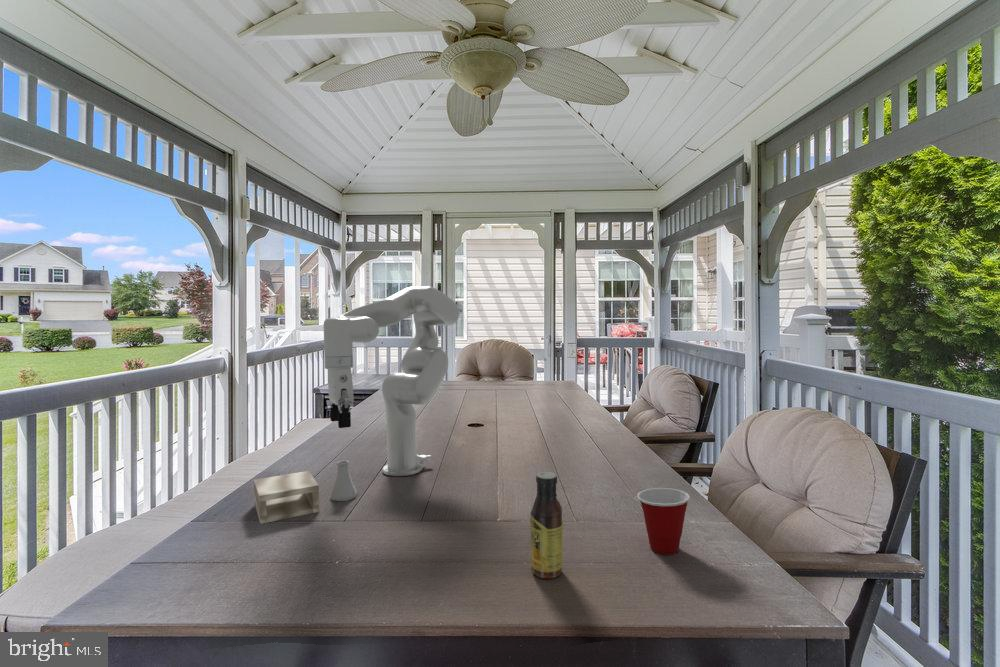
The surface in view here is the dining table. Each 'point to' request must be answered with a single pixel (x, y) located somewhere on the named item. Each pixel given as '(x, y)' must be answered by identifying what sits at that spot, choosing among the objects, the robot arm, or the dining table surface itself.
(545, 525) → the sauce bottle
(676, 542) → the plastic cup
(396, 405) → the robot arm
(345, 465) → the flask
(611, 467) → the dining table surface
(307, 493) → the grooved beige box
